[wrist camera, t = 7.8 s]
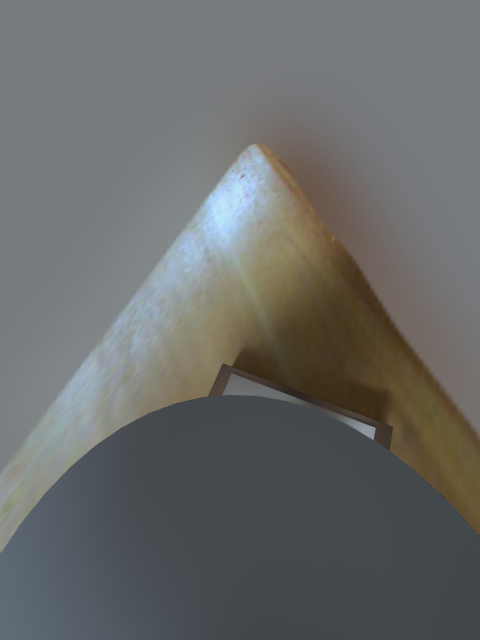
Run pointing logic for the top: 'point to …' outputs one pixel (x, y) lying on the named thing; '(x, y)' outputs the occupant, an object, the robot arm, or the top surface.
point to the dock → (296, 401)
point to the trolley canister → (241, 536)
